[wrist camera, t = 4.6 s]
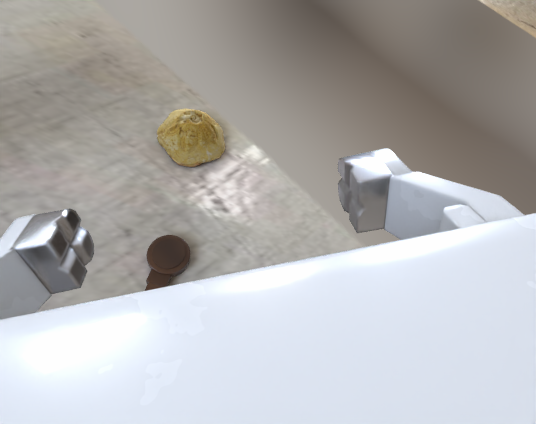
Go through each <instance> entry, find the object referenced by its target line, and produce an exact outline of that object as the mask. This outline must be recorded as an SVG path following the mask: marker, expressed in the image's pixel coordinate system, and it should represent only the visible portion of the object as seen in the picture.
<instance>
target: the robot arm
mask: <svg viewBox="0 0 536 424" xmlns="http://www.w3.org/2000/svg"><path fill="white" fill-rule="evenodd" d="M338 172H339V173H340V175H341V177H342V178H341V180H340V181H339V183H338V192H339V198H340V202H341V205H342V207H343V209H344V211H346V212H348V213H349V220H350V222H351V224H352V225H353V227H354V229H355V230H356V232H357V233H361V232H367V231H372V230H378V229H384V230H386V231H387V232H389V233H391V234H393V235H394V236H396V237H397V238H399V239H401V240H398V241H393V242H389V243H383V244H378V245H373V246H368V247H363V248H358V249H353V250H348V251H343V252H338V253H333V254H328V255H323V256H318V257H313V258H308V259H303V260H298V261H293V262H288V263H283V264H278V265H273V266H268V267H263V268H258V269H253V270H248V271H243V272H238V273H233V274H228V275H223V276H218V277H213V278H208V279H203V280H198V281H193V282H188V283H182V284H177V285H172V286H167V287H162V288H157V289H152V290H147V291H142V292H137V293H132V294H127V295H122V296H117V297H112V298H107V299H102V300H97V301H92V302H87V303H82V304H77V305H72V306H67V307H62V308H57V309H52V310H47V311H42V312H37V310H38V309H39V308H40V307H41V306H42V305H43V304H44V303H45V302H46V301H47V300H48V299H49V298H50V297H51V296H52V295H51V294H55V293H59V292H64V291H68V290H73V289H77V288H81V286H82V283H83V281H84V278H85V276H86V273H87V270H86V268H85V267H84V266H85V265H87V264H88V263H89V262H90V261H91V260H92V257H93V254H94V243H93V240H92V237H91V235H90V234H89V232H88V231H87V230H85V229H83V228H82V227H80V222H81V219H80V217H79V216H78V214H77V213H76V211H74V210H72V209H65V210H60V211H54V212H48V213H42V214H37V215H35V214H34V215H30V216H25V217H20V218H17V219H15V220H14V222H13V223H12V224H11V226H10V227H9V228H8V230H7V231H6V232H5V234H4V235H3V236H2V237H1V239H0V424H536V213H535V214H530V215H524V214H522V213H521V212H520V211H518V210H517V209H516V208H515V207H513V206H512V205H511V204H510V203H509V202H507V201H506V200H505V199H504V198H502V197H501V196H499V195H496V194H492V193H489V192H486V191H482V190H479V189H475V188H472V187H468V186H465V185H462V184H458V183H454V182H451V181H448V180H445V179H441V178H438V177H434V176H431V175H428V174H424V173H421V172H412V171H411V170H410V169H409V168H408V167H407V166H406V165H405V164H404V163H403V162H402V161H401V160H400V159H399V158H398V157H397V156H396V155H395V154H394V153H392V151H391V150H390V149H387V148H385V149H381V150H377V151H372V152H367V153H362V154H358V155H353V156H349V157H344V158H340V159H339V162H338ZM36 312H37V313H36Z"/></svg>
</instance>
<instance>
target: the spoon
mask: <svg viewBox="0 0 536 424" xmlns="http://www.w3.org/2000/svg"><path fill="white" fill-rule="evenodd" d="M147 260H148V264H149V267H150V268H151V272H150V274H149V276H148V278H147V280H146V282H147V284H148V285H147V287H146V289H145V291H147V290H152V289H157V288H162V287H167V286H168V283H169V281H170V279H171V277H174V276H177V275H179V274H181V273H182V272H183V271H184V270H185V269H186V268H187V266H188V264H189V261H190V249H189V246H188V244H187V243H186V242H185V241H184V240H183V239H182V238H180V237H177V236H173V235H166V236H162V237H159V238H157V239H156V240H155V241H153V242H152V243H151V245H150V246H149V248H148V251H147Z"/></svg>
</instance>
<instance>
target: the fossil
mask: <svg viewBox="0 0 536 424" xmlns="http://www.w3.org/2000/svg"><path fill="white" fill-rule="evenodd" d="M157 135H158V137H157V139H158V142H159V143H160V145H161V146H162V147H164V148H165V149H166V151H167V153H168V155H169V156H170V157H171V158H172V159H173V160H174V161H175V162H176V163H177V164H178V165H181V166H187V167H195V166H197V165H201V163H205V162H210V161H213V160H215V159H218V158H220V157H221V155H222V153H223V152H224V150H225V143H224V136H223V130H222V128H221V126H220V125H219V124H218V123H216V122H215V120H214V119H212V118H211V117H210V116H209V115H208V114H206V113H204V112H201V111H199V110H193V109H180V110H175V111H173V112H172V113H170V114H169V116H168V117H167V119H166V120H165V121H164V122H163V124H162V125H160V127H159V128H158V131H157Z"/></svg>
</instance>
